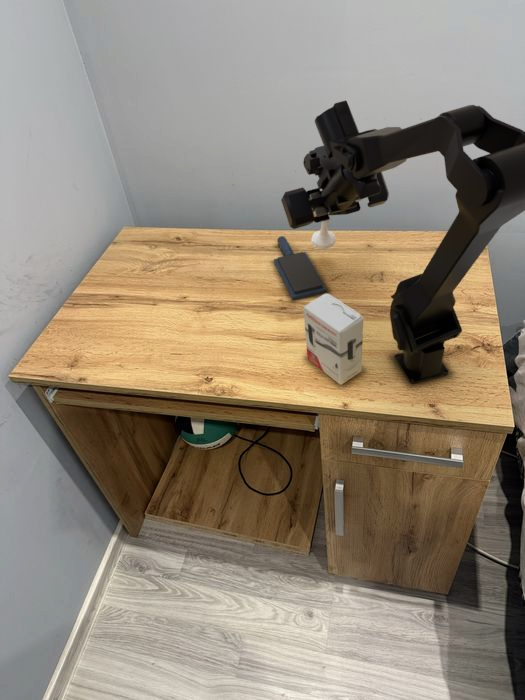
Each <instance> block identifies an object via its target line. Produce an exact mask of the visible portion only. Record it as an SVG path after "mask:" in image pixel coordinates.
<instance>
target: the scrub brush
mask: <svg viewBox="0 0 525 700" xmlns="http://www.w3.org/2000/svg"><path fill="white" fill-rule="evenodd" d="M276 242H277V244H278V246H279V248H280V250H281V252H282V253H283V256H278V257H277V258H274V259H273V263H274V265H275V268H276V270H277V272H278V274H279V276H280V277H281V280H282V282H283V284H284V286H285V288H286V291H287V292H288V294H289V296H290V299H291V300H292V301H296V300H300V299H305V298H309V297H313V296H317V295H321V294H322V295H323V294H326V293H327V292H328V288H327V287H326V285H325V283H324V282H323V280H322V278H321V277H320V275H319V273H318V272H317V269H316V268H315V266H314V265H313V263H312V261H311V259H310V258H309V256H308V254H307V252H306V251H300V252H296V253H295V252H294V251H293V249H292V247H291V245H290V244H289V241H288V240H287V238H286V237H285V236H283V235H280V236H279V237H278V238H277V239H276Z"/></svg>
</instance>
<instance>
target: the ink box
mask: <svg viewBox="0 0 525 700" xmlns="http://www.w3.org/2000/svg"><path fill="white" fill-rule="evenodd" d="M302 309H303V320H304V321H303V322H304V333H305V344H306V345H305V346H306V358H307V360H308V361H310V362H311V363H312V364H313V365H315V366H316V367H317V368H318V369H320V370H321V371H322V372H323V373H324V374H326V375H327V376H329V377H330V378H331V379H332V380H334V381H335V382H336V383H337V384H339V385H340V386H342V385H344V384H345V383H346V382H348V381H350V380H351V379H352V378H353V377H356V376H357V375H359V374H360V373H361V372H362V370H363V343H364V342H363V339H364V317H363V316H362V314H361V313H360V312H358V311H356V310H355V309H353V308H352V307H350V306H348V305H347V304H345V302H344V303H343V302H342V301H340V300H339V299H338V298H336V297H334V296H333V295H331V294H330V293H327V292H326V293H322V295H320V296H318V297H317V298H315V299H313V300H312V301H310V302H308V303H307V304H304V305H303V306H302Z"/></svg>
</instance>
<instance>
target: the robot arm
mask: <svg viewBox="0 0 525 700" xmlns="http://www.w3.org/2000/svg"><path fill="white" fill-rule="evenodd" d="M314 124H315V127H316V130H317V132H318V134H319V137H320V140H321V142H322V145H321V146H320V145H319V146H316V147H314V149H312V150H309V152H308V153H306V154H305V156H304V157H303V163H302V164H303V167H304V169H305V171H306V173H307V175H309V176H310V175H314V176H318V180H317V182H316V185H317V187H316V188H313V189H309V190H306V189H305V187H303V186H301V187H299V188H294V189H291V190H288V191H285V192H284V194H283V195H282V197H281V200H280V201H281V204H282V207H283V211H284V213H285V216H286V219H287V222H288V225H289V228H291V229H293V230H296V229H299V228H302V227H303V228H304V227H307V226H309V225H311V224H313V223H315V224H316V223H322V221H325V220H329V219H330V220H331V217H330V216H343V215H350V214H353V213H357V212H360V211H361V204H360V202H361V201H363V200H364V199H366V198H367V200H368V202H367V204H366V205H367V207H368V208H374V207H377V206H381V205H383V204H385V203H386V202H387V201H388V199H389V194H390V192H389V189H388V186H387V182H386V179H385V177H384V174H383V172H385V171H389V170H393V169H395V168H397V167H399V166H400V165H402V164H404V163H405V162H407V160H408V159H411V158H416V157H420V156H424V155H428V154H433V153H437V152H439V153H440V155H442V157H443V159H444V168H445V176H446V179H447V181H448V182H449V183H450V184H451V186H453V188H454V189H455V191H456V192H455V201H456V204H457V208H458V213H457V214H456V216H455V218H454V219H453V222H452V223H451V225H450V226H449V228H448V229H447V231H446V233H445V235H444V236H443V238H442V239H441V241H440V243H439V245H438V246H437V248H436V250H435V251H434V254H433V255H432V257H431V258H430V260H429V261H428V264H427V265H426V266H425V268H424V270H423V272H422V273H420V274H417V275H414V276H411V277H408V278H405V279H403V280H401V281H399V283H398V284H397V286H396V289H395V291H394V293H393V294H391V295H390V298H391V299H392V301H391V303H390V310H389V319H390V324H391V332H392V337H393V339H394V341H395V342H396V348H397V350H399V351H400V353H397V354H394V356H393V359H394V361H395V362H396V364H397V365H398V368H399V369H400V370H401V371H402V373H403V374H404V376H405V378H407V381H408V383H410V384H412V385H414V384H418V383H423V382H426V381H429V380H433V379H437V378H440V377H445V376H447V375H449V373H450V372H449V369H448V368H447V366H446V365H445V364H444V362H443V361H444V360H443V359H444V354H445V349H446V347H445V342H448V341H450V340H452V339H456V338H459V336H460V335H461V333H462V332H463V329H462V326H461V323H460V320H459V318H458V315H457V312H456V310H455V308H454V307H455V305H456V298H455V295H454V291H455V290H456V288H457V287H458V286H459V284H460V283H462V281H463V279H464V277H465V276H466V275H467V273H468V272H469V271H470V270H471V268H472V267H473V266H474V264H475V263H476V262H477V260H478V259H479V257H480V256H481V254H483V252H484V251H485V249H486V248H487V246H488V245H489V244H490V242H491V241H492V239H493V238H495V236H496V234H497V233H498V232H499V230H500V229H501V228H502V227H503V226H504V225H505V224H507V223H508V222H510V221H511V220H513V219H514V218H516V217H518V216H519V215H520V214H522V213H524V212H525V131H524V130H523V129H521V128H519V127H516V126H514V125H511V124H509V123H506V122H504V121H502V120H499V119H496V118H495V117H493V116H492V115H491V114H490V113H489V112H488V111H487V110H486V109H485V108H484V107H482V106H480V105H475V104H467V105H465V106H462V107H457V108H455V109H451V110H447V111H445V112H441V113H440V114H439V115H438V116H436V117H434V118H431V119H428V120H425V121H422V122H419V123H416V124H413V125H410V126H407V127H404V128H401V127H400V126H386V127H382V128H380V129H376V128H373V129H372V128H371V129H368V130H364V131H361V132H360V131H359V128H358V125H357V123H356V121H355V118H354V116H353V113H352V111H351V108H350V105H349V103H348V101H347V100H341V101H338V102H335V103H334V104H333V106H332V107H330V108H327V109H326V110H325V111H323V112H322V113H320V114H318V115H317V116H316V117H315V119H314ZM470 145H473V146H475V147H476V148H478V149H479V150H481V151H484V152H486V153H487V154H485V155H482V156H479V157H475V158H473V159H472V158H471V156H470V155H468V154H467V153H466V152H465V150H464V147H466V146H470ZM329 212H330V213H329ZM328 213H329V215H328ZM329 217H330V218H329ZM401 351H403V352H401Z"/></svg>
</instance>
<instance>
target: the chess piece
mask: <svg viewBox="0 0 525 700" xmlns="http://www.w3.org/2000/svg"><path fill="white" fill-rule="evenodd" d="M329 213H330V212H329ZM329 213H328V215H329ZM329 218H330V219H329V220H325V221H322V222H321V225H320V229H318V230H317V231H315V232H314V233H313V234H312V236H311V239H310V242H311V245H312V246H314V247H315V248H317V249H320V250H327V249H331V248H332V247H334V245H336V243H337V240H336V235H335V234H334V232H332V231H330V230H329V229H328V223H329V222H330V221H331V216H330V215H329Z"/></svg>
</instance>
